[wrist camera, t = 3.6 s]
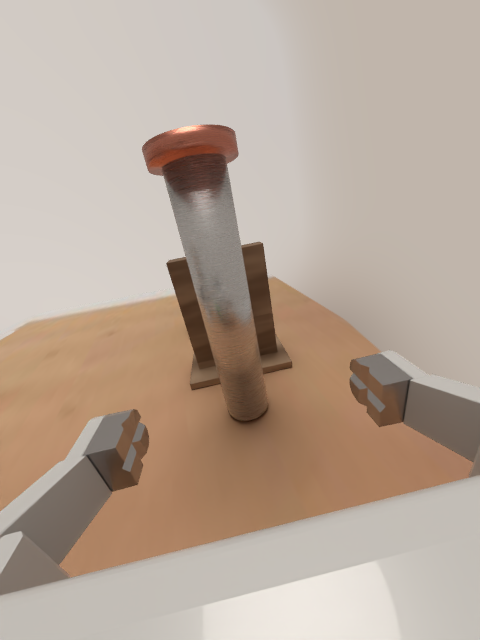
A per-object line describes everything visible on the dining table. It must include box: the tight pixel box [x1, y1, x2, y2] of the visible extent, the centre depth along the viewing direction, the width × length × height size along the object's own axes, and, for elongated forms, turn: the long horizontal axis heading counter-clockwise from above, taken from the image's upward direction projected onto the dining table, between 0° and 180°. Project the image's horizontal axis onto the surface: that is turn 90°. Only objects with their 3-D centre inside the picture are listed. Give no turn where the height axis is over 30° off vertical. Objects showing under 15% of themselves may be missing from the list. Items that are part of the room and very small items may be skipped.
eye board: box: [167, 242, 292, 390], centre depth 27 cm, size 7×12×14 cm, turn 97°
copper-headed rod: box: [142, 125, 268, 421], centre depth 22 cm, size 15×6×21 cm, turn 7°
